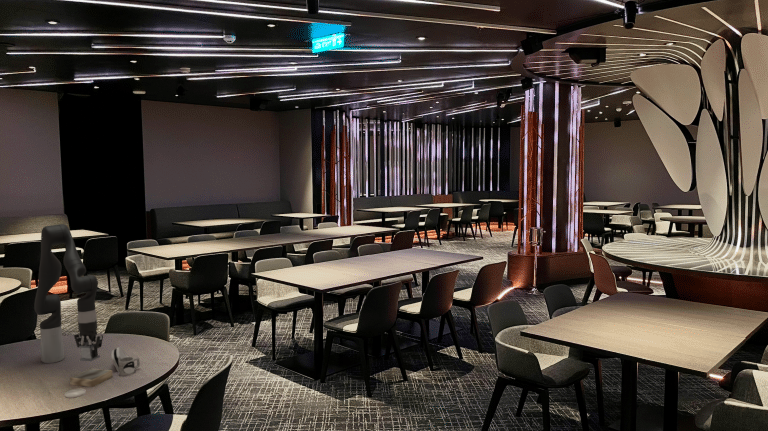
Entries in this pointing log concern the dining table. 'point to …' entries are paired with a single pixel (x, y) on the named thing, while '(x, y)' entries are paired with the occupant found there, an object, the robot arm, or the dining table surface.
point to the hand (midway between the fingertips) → (90, 356)
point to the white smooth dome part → (75, 393)
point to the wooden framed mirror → (91, 377)
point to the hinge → (118, 356)
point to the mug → (127, 366)
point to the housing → (87, 352)
